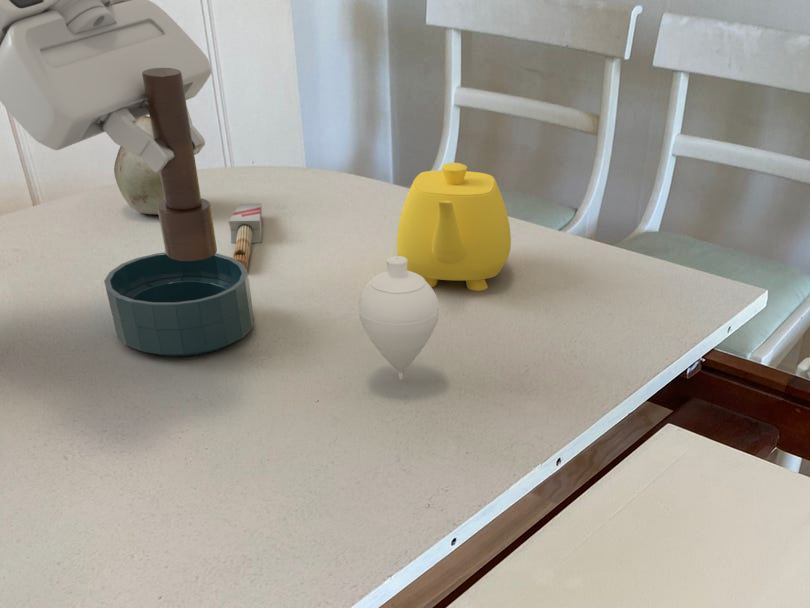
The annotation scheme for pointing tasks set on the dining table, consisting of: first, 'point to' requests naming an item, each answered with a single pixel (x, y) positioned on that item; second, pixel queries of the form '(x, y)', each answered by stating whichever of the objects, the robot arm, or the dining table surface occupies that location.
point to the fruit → (138, 177)
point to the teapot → (454, 227)
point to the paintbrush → (246, 230)
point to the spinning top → (398, 313)
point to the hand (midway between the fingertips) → (181, 158)
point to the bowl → (180, 304)
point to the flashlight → (178, 170)
